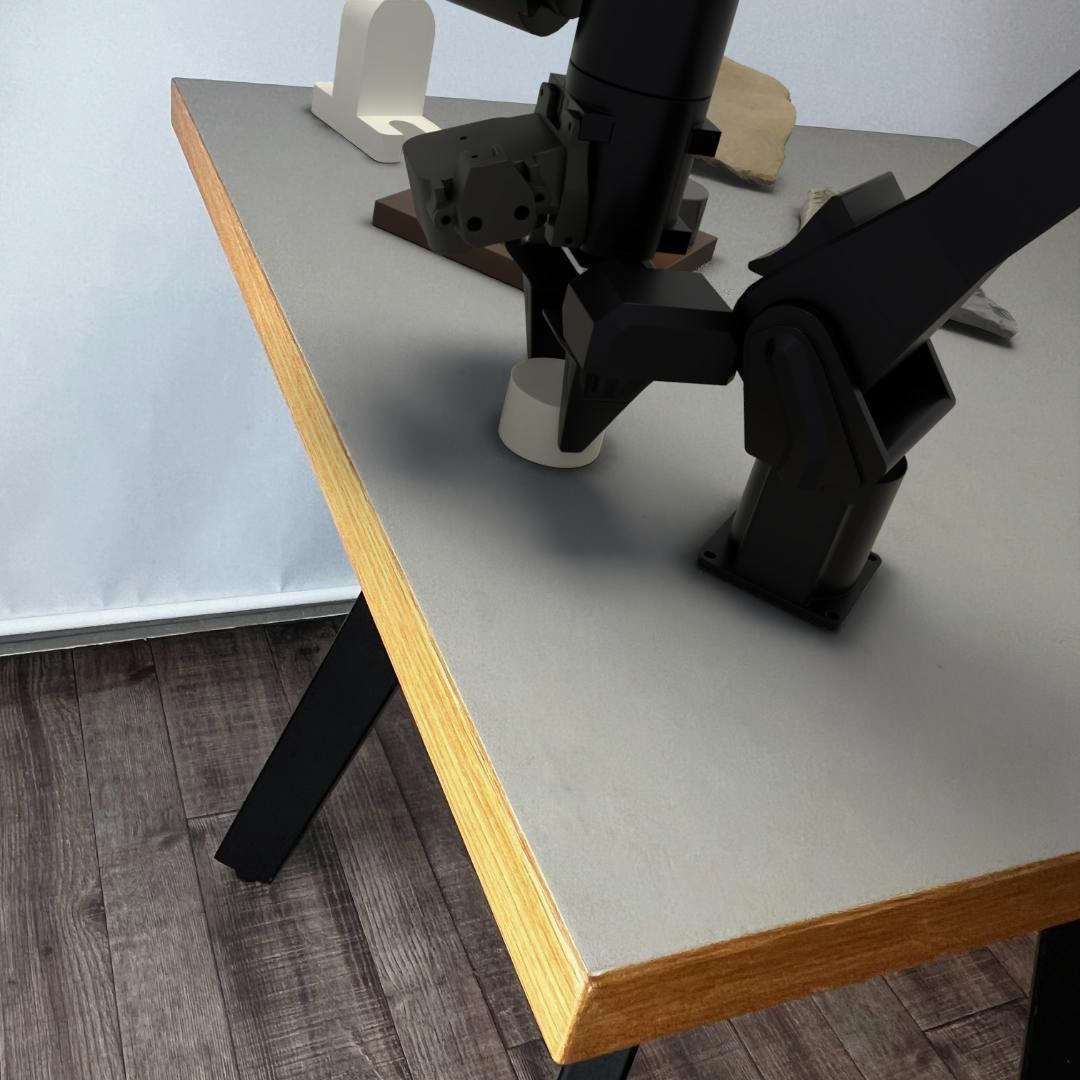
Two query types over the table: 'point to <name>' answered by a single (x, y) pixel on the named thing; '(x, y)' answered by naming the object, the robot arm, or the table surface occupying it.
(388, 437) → the table surface
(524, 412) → the white stone
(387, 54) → the white slotted stand
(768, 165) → the decorative stone
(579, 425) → the robot arm
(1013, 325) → the fossil rock
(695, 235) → the black stone
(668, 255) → the board
